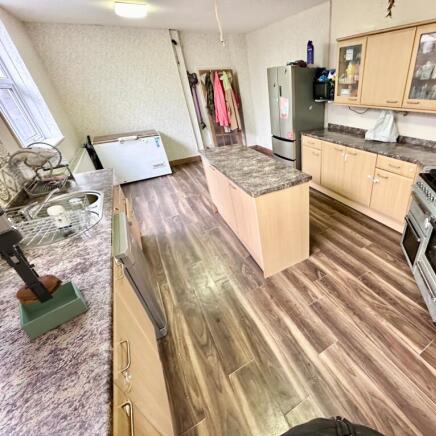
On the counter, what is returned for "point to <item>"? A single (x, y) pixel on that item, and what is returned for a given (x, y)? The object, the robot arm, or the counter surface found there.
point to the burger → (27, 295)
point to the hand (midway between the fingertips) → (43, 293)
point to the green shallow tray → (52, 310)
